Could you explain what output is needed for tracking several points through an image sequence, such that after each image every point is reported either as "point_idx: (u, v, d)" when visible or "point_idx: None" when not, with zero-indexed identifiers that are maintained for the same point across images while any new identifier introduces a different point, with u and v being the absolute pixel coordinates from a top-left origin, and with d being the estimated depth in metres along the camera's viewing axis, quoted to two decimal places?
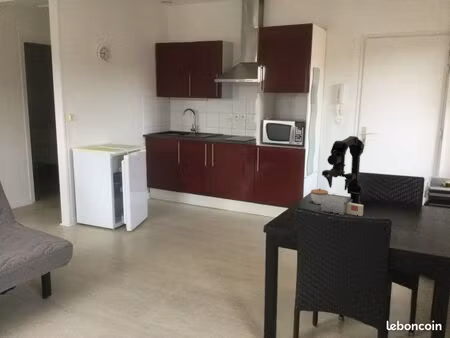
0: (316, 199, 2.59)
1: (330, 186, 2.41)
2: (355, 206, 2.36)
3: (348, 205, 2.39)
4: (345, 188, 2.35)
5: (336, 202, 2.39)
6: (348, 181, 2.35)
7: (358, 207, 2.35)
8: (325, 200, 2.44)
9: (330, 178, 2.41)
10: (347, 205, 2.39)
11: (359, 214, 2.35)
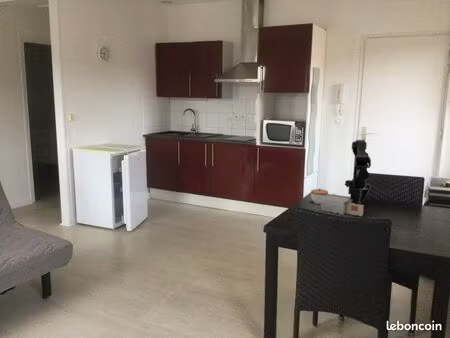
0: (316, 199, 2.59)
1: (361, 199, 2.40)
2: (355, 206, 2.36)
3: (348, 205, 2.39)
4: (354, 202, 2.33)
5: (336, 202, 2.39)
6: (357, 196, 2.30)
7: (358, 207, 2.35)
8: (325, 200, 2.44)
9: (363, 191, 2.39)
10: (347, 205, 2.39)
11: (359, 214, 2.35)
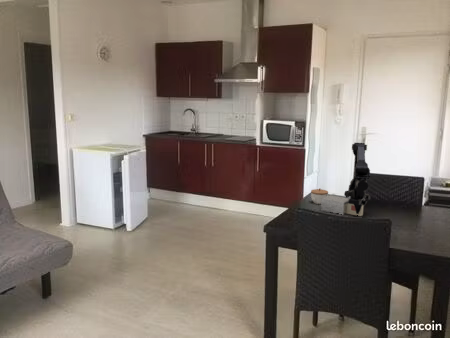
0: (316, 199, 2.59)
1: None
2: None
3: (348, 205, 2.39)
4: None
5: (336, 202, 2.39)
6: (358, 205, 2.33)
7: None
8: (325, 200, 2.44)
9: (360, 203, 2.38)
10: (347, 205, 2.39)
11: (359, 214, 2.35)
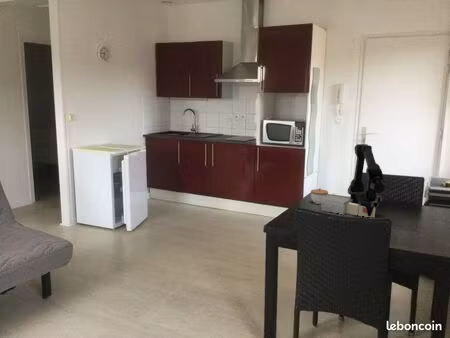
0: (316, 199, 2.59)
1: None
2: None
3: (359, 207, 2.35)
4: None
5: (336, 202, 2.39)
6: (370, 207, 2.29)
7: None
8: (325, 200, 2.44)
9: None
10: (358, 207, 2.35)
11: (371, 216, 2.31)
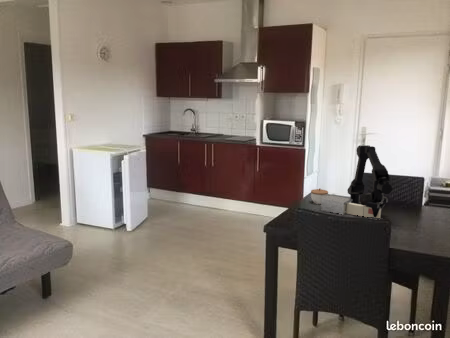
0: (316, 199, 2.59)
1: None
2: None
3: (365, 208, 2.33)
4: (373, 214, 2.30)
5: (336, 202, 2.39)
6: (376, 209, 2.27)
7: None
8: (325, 200, 2.44)
9: None
10: (364, 208, 2.33)
11: (377, 217, 2.29)
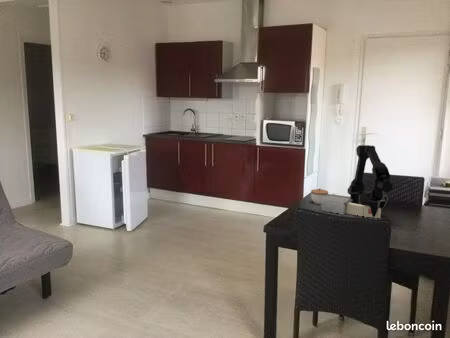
0: (316, 199, 2.59)
1: None
2: None
3: (365, 208, 2.33)
4: (372, 214, 2.27)
5: (336, 202, 2.39)
6: (375, 208, 2.25)
7: None
8: (325, 200, 2.44)
9: (380, 203, 2.33)
10: (364, 208, 2.33)
11: (377, 217, 2.29)
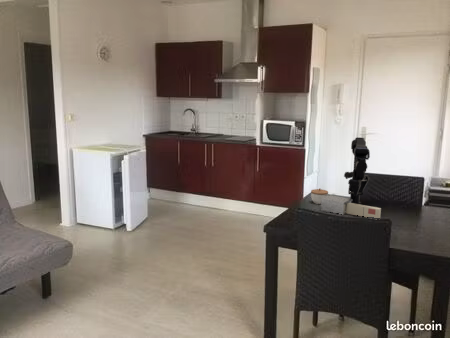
0: (316, 199, 2.59)
1: (360, 190, 2.43)
2: (372, 209, 2.30)
3: (365, 208, 2.33)
4: (353, 193, 2.36)
5: (336, 202, 2.39)
6: (356, 187, 2.34)
7: (375, 210, 2.29)
8: (325, 200, 2.44)
9: (361, 183, 2.42)
10: (364, 208, 2.33)
11: (377, 217, 2.29)
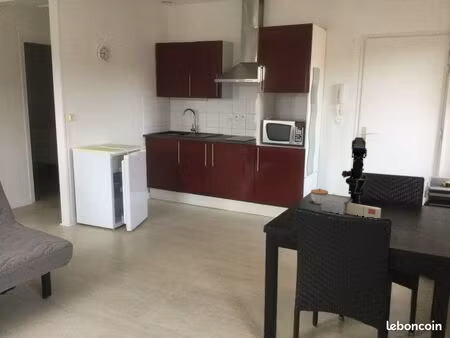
0: (316, 199, 2.59)
1: (357, 189, 2.44)
2: (372, 209, 2.30)
3: (365, 208, 2.33)
4: (351, 192, 2.37)
5: (336, 202, 2.39)
6: (354, 186, 2.35)
7: (375, 210, 2.29)
8: (325, 200, 2.44)
9: (359, 182, 2.44)
10: (364, 208, 2.33)
11: (377, 217, 2.29)
